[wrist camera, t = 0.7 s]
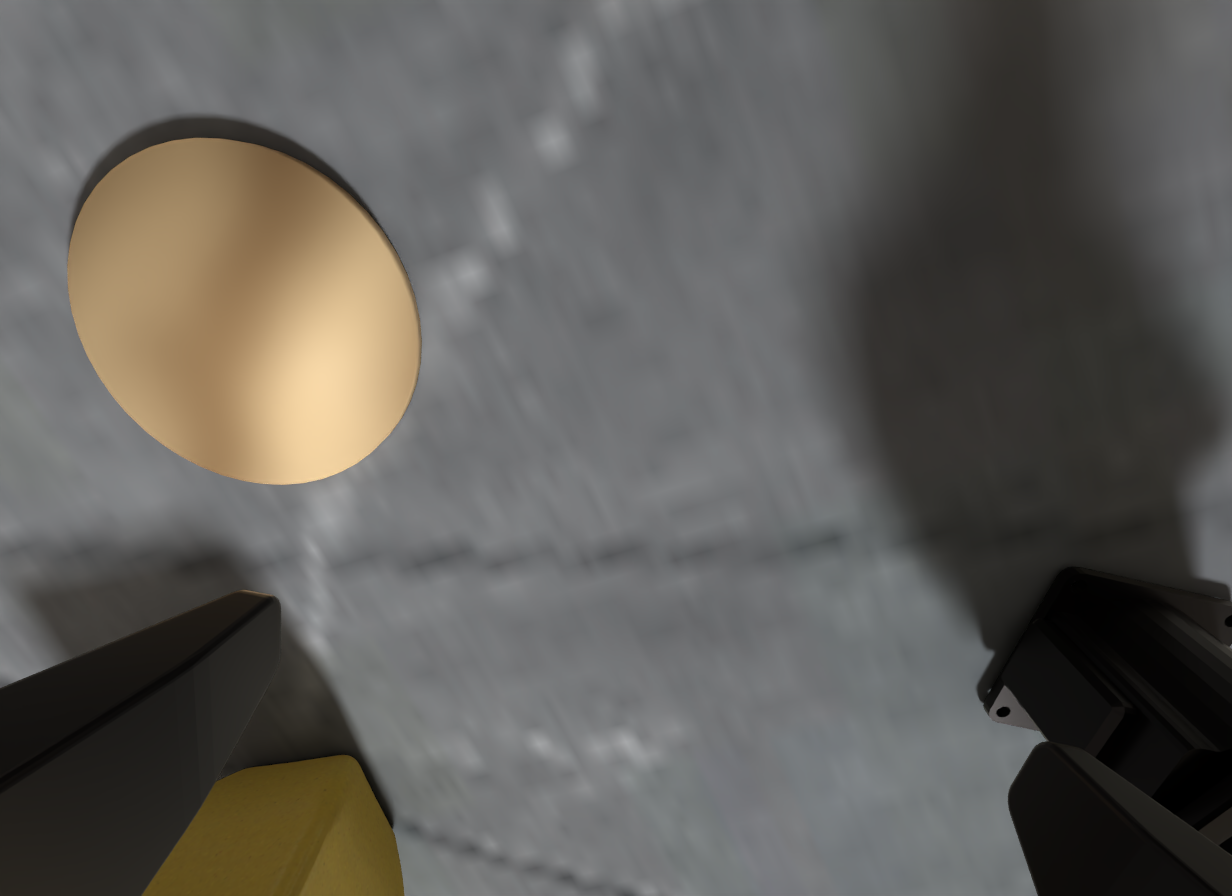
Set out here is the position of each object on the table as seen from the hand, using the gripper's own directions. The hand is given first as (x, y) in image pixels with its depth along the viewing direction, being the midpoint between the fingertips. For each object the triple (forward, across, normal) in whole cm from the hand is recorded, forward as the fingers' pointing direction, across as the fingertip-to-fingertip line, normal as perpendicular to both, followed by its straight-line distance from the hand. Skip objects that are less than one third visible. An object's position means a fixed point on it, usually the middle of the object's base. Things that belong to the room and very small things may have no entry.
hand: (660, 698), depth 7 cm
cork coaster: (+13, +12, 0) cm, 17 cm away
